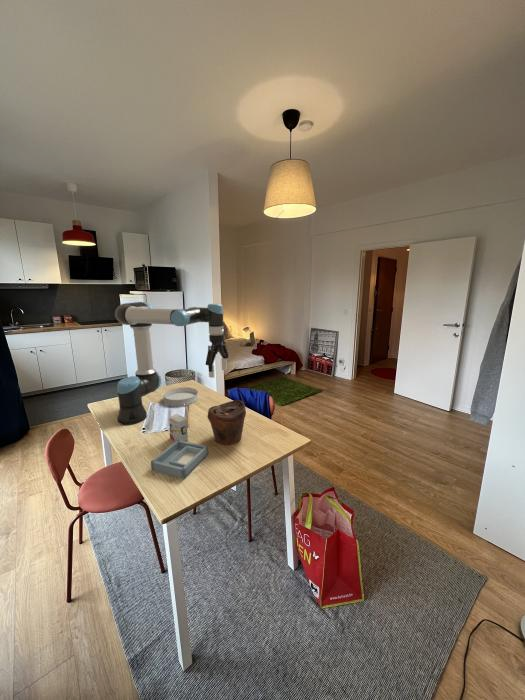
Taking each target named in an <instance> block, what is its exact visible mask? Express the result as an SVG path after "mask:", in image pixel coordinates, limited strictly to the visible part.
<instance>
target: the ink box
mask: <svg viewBox="0 0 525 700" xmlns="http://www.w3.org/2000/svg"><path fill="white" fill-rule="evenodd" d="M168 422H169V439H170V440H172V441H174V443H175V442H176V441H177V440H181V441H186V442H189V436H188V433H189V432H188V419H187V417H185V416H184V415H181V414H179V413H175V414H173V415H171V416H169V417H168Z"/></svg>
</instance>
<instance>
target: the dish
mask: <svg viewBox="0 0 525 700" xmlns="http://www.w3.org/2000/svg"><path fill="white" fill-rule="evenodd" d="M198 401H199V392H198V389H196V388H193V387H177V388H173V389H169V390H168V391H166V392H164V394H163V404H164V405H165V406H167V407H173V408H182V407H188V406H191V405H193V404H196V403H197V402H198ZM184 404H185V405H184Z"/></svg>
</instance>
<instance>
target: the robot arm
mask: <svg viewBox="0 0 525 700" xmlns="http://www.w3.org/2000/svg"><path fill="white" fill-rule="evenodd" d="M114 315H115V319H116V320H117V321H118V323H120V324H122V325H124V326H125V325H126V326H129V327H130V328H131V329H132V331H133V339H134V348H135V357H136V366H137V370H136V371H135V372H134V373H135V375H132V376H127V377H124V378H122V379H120V380H119V381H118V382H117V385H116V388H117V389H116V391H117V397H118V403H119V404H118V405H119V410H118V415H117V423H118V424H120V425H123V426H124V425H127V426H128V425H129V426H130V425H136V424H139V423H142V422H143V421H144V420H146V419H147V416H148V415H147V410H146V409H145V406H144V405H143V397H145V396H146V395H149V394H151V393H154V392H155V391H157V390H158V389H159V388H160V387H161V384H162V378H161V375H160V374H159V372H157V370H156V368H155V367H154V362H153V351H152V350H153V349H152V341H151V332H150V331H151V330H150V329H151V327H152V326H153V325H154V324H155V325H174V326H176V327H185V326H188V325H193V324H196V323H208V334H209V336H208V337H209V339H208V341H209V343H211V345H208V346H207V354H206V358H205V359H206V360H205V366H208V367H207V368H208V378H212V379H215V365H214V363H215V359H216V356H217V354H218V353H219V355H220V356H221V370H222V371H228V366H227V359H229V352H228V348H227V344H226V341H225V335H224V333H225V332H224V330H225V328H224V309H223V305H222V304H221V303H208V304H207V307H199V306H198V307H197V306H192V307H188V308H185V309H179V308H174V309H173V308H169V309H168V308H154V307H153V306H152V305H151V304H150V303H148V302H145V301H138V302H137V301H135V302H124V303H121V304H120V305H119V306H117V308H115V311H114Z"/></svg>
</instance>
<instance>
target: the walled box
mask: <svg viewBox="0 0 525 700" xmlns="http://www.w3.org/2000/svg"><path fill="white" fill-rule="evenodd" d="M208 455H209V446H208V445H204V444H199V443H194V442H189V441H181V440H177V441H176V442H175V441H174V442H173V443H171V445H170V446H169V447H167V448H166V449H164V450H163V451H162V452H161V453H160V454H158V456H156V457H155V458H154V459H152V460H151V461H150V468H151V471H152V472H156V473H160V474H162V475H163V474H164V475H167V476H170V477H175V478H179V479H182V480H186V479H187V477H188V476H189V475H190V474H191V473H193V471H194V470H195V469H196V468H197V467H198V466H199V464H200V463H202V462H203V460H205V458H206V457H207V456H208Z"/></svg>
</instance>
